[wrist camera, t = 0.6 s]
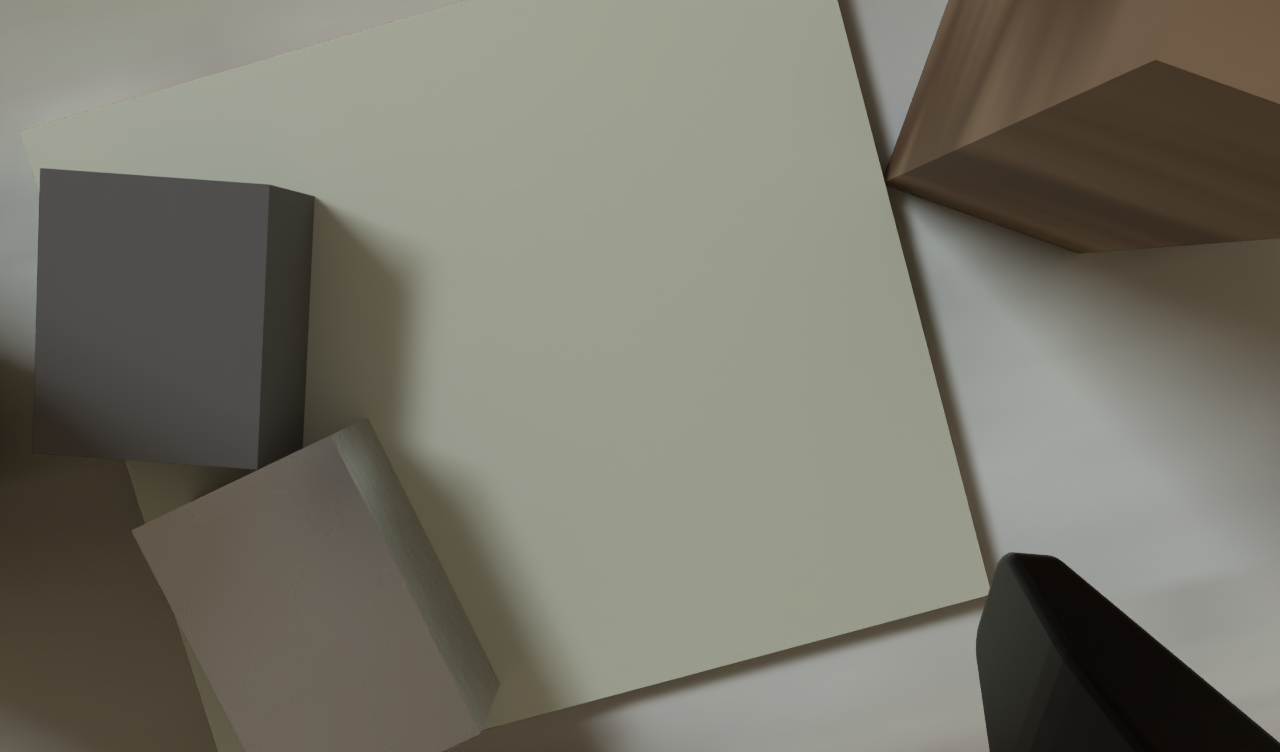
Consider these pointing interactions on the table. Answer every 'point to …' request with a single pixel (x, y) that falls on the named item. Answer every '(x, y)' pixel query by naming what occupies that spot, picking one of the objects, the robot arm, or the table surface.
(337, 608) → the grey metal block
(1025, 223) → the walnut post
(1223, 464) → the table surface
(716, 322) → the sage board
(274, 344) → the black rubber block
